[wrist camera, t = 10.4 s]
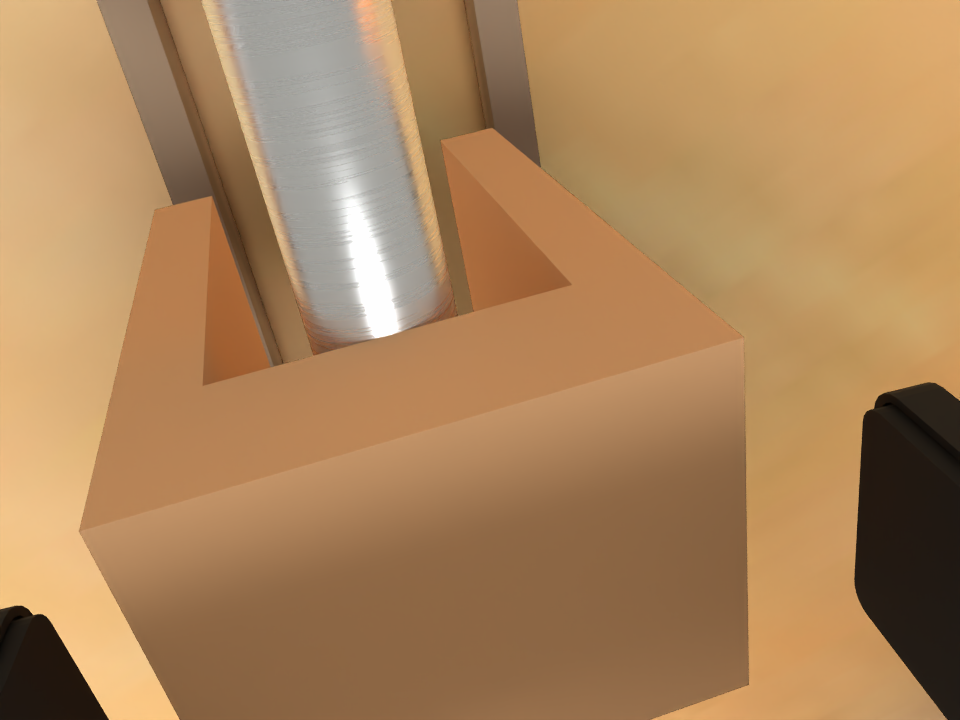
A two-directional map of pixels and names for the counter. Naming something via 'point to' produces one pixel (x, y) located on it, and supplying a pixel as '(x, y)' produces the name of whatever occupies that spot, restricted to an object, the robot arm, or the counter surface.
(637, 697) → the u-slot holder
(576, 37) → the counter surface
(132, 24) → the stand
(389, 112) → the rail
